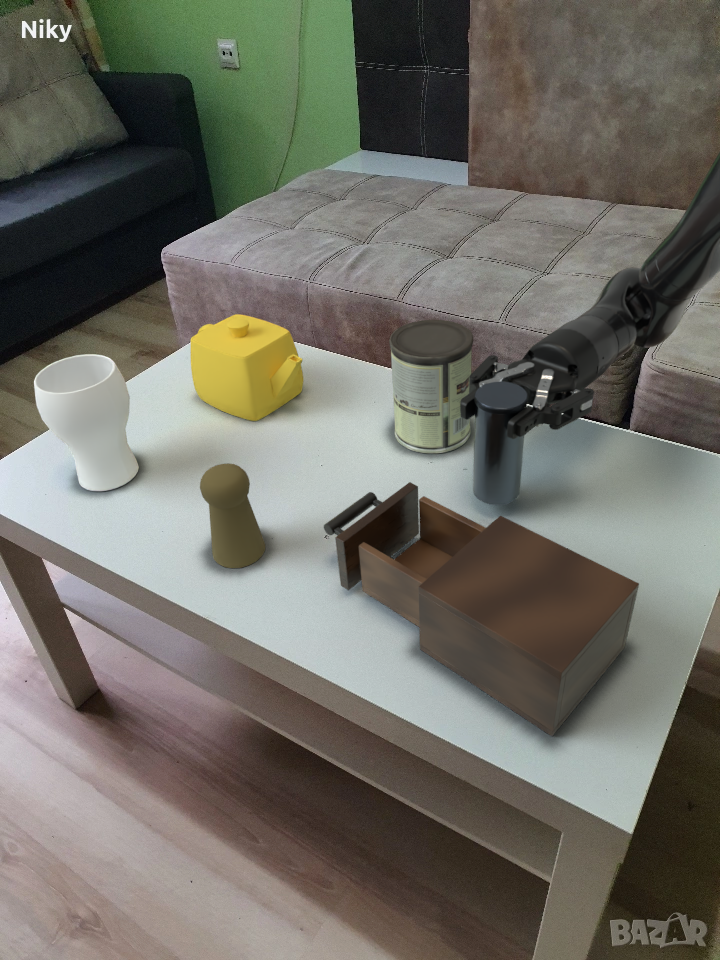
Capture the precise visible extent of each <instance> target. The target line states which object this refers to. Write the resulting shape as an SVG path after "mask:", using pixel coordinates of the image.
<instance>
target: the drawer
mask: <svg viewBox="0 0 720 960" xmlns="http://www.w3.org/2000/svg"><path fill="white" fill-rule="evenodd" d="M373 506H374V508H373V509H371V508H372V507H373ZM369 509H371V510H370V511H368V512H367V513H366V514H365V515H363V516H361V515H362V514H363V513H365V512H366V511H367V510H369ZM359 516H361V518H359V519H358V520H357V521H355V522H354V523H352V524H351V525H350V526H348V527H347V528H346V529H343V528H344V527H345V526H347V525H349V524H350V523H351V522H352V521H354V520H355V519H357V518H358V517H359ZM485 528H487V526H486V527H485V526H483V525H482V524H480V523H478V522H476V521H474V520H472V519H470V518H468V517H466V516H464V515H463V514H460V513H458V512H457V511H454V510H452V509H451V508H448V507H446V506H444V505H442V504H441V503H438V502H437V501H435V500H432V499H431V498H429V497H427V496H424V495H423V496H422V497H420V498H419V486H418V485H417V484H414V483H412V482H408V483H406V484H405V485H404V486H402V487H401V488H400V489H398V490H397V491H395V492H394V493H393V494H391V495H390V496H388V498H386V499H385V500H383V501H381V500H379V499H378V497H377V495H376V494H375V493H374V492H372V491H369V492H368V493H366V494H364V495H363V496H362V497H360V498H359V499H357V500H356V501H355V502H353V503H352V504H350V505H349V506H348V507H346V508H345V509H343V510H342V511H341V512H340V513H339V514H337V515H336V516H334V517H333V518H331V519H330V520H328V521H327V522H325V524H323V529H324V532H325V534H327V535H328V536H333V535H335V538H334V539H335V547H336V557H337V566H338V574H339V584H340V586H341V587H342V588H343V589H346V590H347V591H350V590H351V589H353V588H354V587H355V586H357V585H358V584H359V583H360V582H361V589H362V590H361V591H362V592H364V593H365V594H367V595H368V596H369V597H371V598H373V599H374V600H376V601H377V602H379V603H381V604H382V605H384V606H385V607H387V608H388V609H390V610H391V611H392V612H395V613H396V614H398V615H399V616H401V617H403V618H404V619H405V620H407V621H409V622H410V623H412V624H413V625H415V626H416V627H418V628H419V592H418V587H419V586H420V585H421V584H422V583H423V582H424V581H425V580H427V579H428V578H429V577H430V576H431V575H432V574H434V573H435V572H436V571H437V570H438V569H439V568H440V567H442V566H443V565H444V564H445V563H446V562H447V561H449V560H450V559H451V558H452V557H453V556H454V555H455V554H457V553H458V552H459V551H460V550H461V549H462V548H464V547H465V546H466V545H467V544H468V543H469V542H470V541H472V540H473V539H474V538H475V537H476V536H477V535H479V534H480V533H481V532H482V531H483V530H484V529H485ZM418 535H419V539H417V540H416V541H415V542H414V543H413V544H411V545H410V546H409V547H407V548H406V549H405V550H404V551H403V552H401V553H400V554H399V555H397V556H396V557H395V558H392V556H394V555H395V554H396V553H398V551H400V550H401V549H402V548H404V546H406V545H407V544H408V543H410V542H411V541H412V540H414V539H415V538H416V537H417V536H418Z"/></svg>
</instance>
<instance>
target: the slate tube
mask: <svg viewBox="0 0 720 960" xmlns="http://www.w3.org/2000/svg"><path fill="white" fill-rule="evenodd" d="M474 402H475V415H474V426H473V427H474V428H473V430H474V431H473V466H472V467H473V469H472V474H473V475H472V493H473V495H474V497H476V499H477V500H478V501H480V502H482V503H485V504H487V505H492V506H504V505H508V504H511V503H512V502H514V501H516V500H517V499H518V498H519V497H520V494H521V484H522V472H523V459H524V458H523V457H524V443H525V435H524V436H521V437H519V436H518V437H517V438H516V439H511V438H509V437H507V427H508V422H509V420H510V419H511V418H513V417H514V416H515V415H517V414H518V413H519V412H520V411H522V410H523V409H524V408H526V407H527V406H528V394H527V392H526V390H525V389H523V388H522V387H521V386H519V385H516V384H514V383H509V382H492V383H488V384H485V385H483V386H481V387H480V388H478V389H477V390H476V392H475V394H474Z"/></svg>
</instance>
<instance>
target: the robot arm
mask: <svg viewBox="0 0 720 960" xmlns="http://www.w3.org/2000/svg"><path fill="white" fill-rule="evenodd" d="M719 272H720V151H719V152H718V154H717V155H716V157H715V159H714V160H713V162H712V164H711V166H710V167H709V170H708V171H707V173H706V174H705V176H704V178H703V179H702V181H701V182H700V185H699V186H698V188H697V190H696V192H695V193H694V196H693V198H692V199H691V201H690V203H689V205H688V206H687V208H686V210H685V212H684V213H683V215H682V216H681V219H679V221H678V222H677V224H675V226H674V227H673V229H672V230H671V231H670V233H668V234H667V236H665V238H664V239H663V240H662V241H661V242H660V244H659V245H658V246H656V248H655V249H654V250H653V251H652V252H651V253H650V254H649V256H648V257H647V258H646V259H645V261H644V262H643V263H642V265H641V266H640V267H634V266H631V267H625V268H623V269H621V270H620V271H618V272H616V273H615V274H614V275H613V276H611V278H610V279H609V280H608V281H607V282H606V283H605V285H604V287H603V288H602V290H601V292H600V293H599V295H598V297H597V299H595V300H596V301H595V302H594V304H593V306H591V307H590V308H589V309H588V310H586V311H585V312H584V313H582V314H580V315H579V316H578V317H576V318H575V319H572V320H570V321H568V322H566V323H564V324H563V325H561V326H559V327H558V328H557V329H555V330H554V331H552V332H551V333H549V334H548V335H547V336H545V337H544V338H542V339H541V340H538V342H536V343H535V344H533V345H532V346H531V347H530V348H529V349H528V350H527V352H526V353H525V355H524V356H523V357H522V359H520V360H515V361H513V362H510V363H509V364H506V363H502V362H501V363H500V362H499V357H498V356H497V355H495V354H491V355H488V356H487V357H486V358H485V359H484V360H483V361H482V362H481V363H480V364H479V365H478V366H477V368H475V369H474V371H472V372H471V373H472V374H471V375H470V376H469V394H468V395H466V396H465V397H464V398H462V399H461V401H460V412H461V418H464V419H466V420H468V419H469V418H470V419H471V418H472V417H475V402H474V394H475V392H476V390H477V389H478V388H480V387H481V386H483V385H485V384H488V383H492V382H509V383H514V384H516V385H519V386H521V387H522V388H523V389H525V390H526V392H527V394H528V403H527V405H526V408H524V409H523V410H522V411H520V412H519V413H518V414H517V415H515V416H514V417H513V418H511V419H510V420H509V422H508V427H507V437H509V438H511V439H516V438H517V437H518V436H519V437H521V436H524V437H525V436H526V435H527V434H528V433H529V432H530V431H532V430H533V429H534V428H536V427H542V426H543V425H547V426H548V427H549V429H551V430H552V431H556V430H557V431H558V430H560V429H562V428H564V427H566V426H568V425H569V424H571V423H573V422H575V421H577V420H579V419H580V418H583V417H584V416H586V415H588V414H589V413H592V409H593V401H594V394H595V391H594V389H592V388H588V387H589V386H590V385H591V384H592V383H593V382H595V381H596V380H598V379H599V378H600V377H601V376H602V375H604V373H606V372H607V370H608V369H609V367H610V366H611V365H613V364H614V363H615V362H617V360H619V359H621V358H622V357H623V356H625V354H626V353H627V352H629V351H630V350H631V349H632V348H633V347H634V345H635V346H637V347H640V348H653V347H656V346H658V345H661V344H662V343H664V342H665V341H666V340H667V339H668V338H669V337H670V336H672V334H673V333H674V332H675V330H676V329H677V327H678V326H679V324H680V322H681V320H682V319H683V317H684V315H685V312H686V310H687V307H688V305H689V303H690V302H691V299H692V298H693V297H694V296H695V295H696V294H698V293H699V292H700V291H701V290H702V289H703V288H705V286H706V285H707V284H709V283H710V282H711V281H712V280H713V279H714V278H715V277H716V276H717V275H718V274H719Z"/></svg>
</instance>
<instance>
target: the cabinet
mask: <svg viewBox="0 0 720 960" xmlns="http://www.w3.org/2000/svg"><path fill="white" fill-rule="evenodd" d="M639 587H640V583H639V582H636V581H635V580H632V579H631V578H629V577H627V576H624V575H622V574H621V573H619V572H617V571H615V570H612V569H611V568H609V567H606V566H604V565H602V564H600V563H598V562H596V561H594V560H592V559H590V558H588V557H586V556H584V555H582V554H580V553H578V552H576V551H574V550H572V549H570V548H567V547H566V546H563V545H562V544H559V543H557V542H556V541H554V540H551V539H550V538H547V537H545V536H543V535H541V534H539V533H537V532H535V531H533V530H530V529H529V528H527V527H524V526H523V525H521V524H518V523H517V522H514V521H513V520H511V519H509V518H506V517H505V516H502V515H500V516H498V517H497V518H495V519H494V520H493V521H492V522H491V523H490V524H489V525H488V526H486V528H485V529H484V530H483V531H482V532H481V533H480V534H479V535H477V536H476V537H475V538H474V539H473V540H472V541H470V542H469V543H468V544H467V545H466V546H465V547H464V548H462V549H461V550H460V551H459V552H458V553H457V554H455V555H454V556H453V557H452V558H451V559H450V560H449V561H447V562H446V563H445V564H444V565H443V566H442V567H440V568H439V569H438V570H437V571H436V572H435V573H434V574H432V575H431V576H430V577H429V578H428V579H427V580H425V581H424V582H423V583H422V584H421V585H420V586H419V587H418V592H419V627H418V628H419V650H420V651H422V652H423V653H425V654H426V655H428V656H429V657H431V658H433V659H434V661H437V662H438V663H440V664H442V665H443V666H445V667H446V668H447V669H449V670H450V671H452V672H453V673H455V674H457V675H458V676H460V677H461V678H463V679H464V680H466V681H467V682H469V683H470V684H472V685H473V686H475V687H476V688H478V689H480V690H481V691H482V692H483V693H485V694H487V695H488V696H490V697H491V698H493V699H494V700H495V701H497V702H499V703H500V704H502V705H503V706H505V707H506V708H508V709H509V710H511V711H513V712H514V713H516V714H517V715H519V716H520V717H522V718H523V719H525V720H526V721H527V722H529V723H531V724H532V725H534V726H535V727H537V728H538V729H540V730H541V731H543V732H544V733H546V734H547V735H549V736H550V737H553V736H554V735H555V734H556V733H557V731H559V729H560V728H561V726H562V725H563V724H565V721H566V720H567V719H568V718H569V717H570V715H571V714H572V713H573V712H574V710H575V709H576V708H577V707H578V706H579V705H580V703H581V702H582V701H583V699H584V698H585V697H586V696H587V695H588V694H589V692H590V691H591V690H592V689H593V687H594V686H595V685H596V684H597V682H598V681H599V680H600V679H601V677H602V676H603V675H604V674H605V673H606V672H607V671H608V669H609V668H610V666H611V665H612V664H613V663H614V662H615V660H616V659H617V658H618V657H619V655H620V654H622V652H623V651H624V649H625V648H626V644H627V640H628V634H629V631H630V626H631V622H632V617H633V614H634V613H633V612H634V608H635V604H636V599H637V597H638V590H639Z"/></svg>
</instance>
